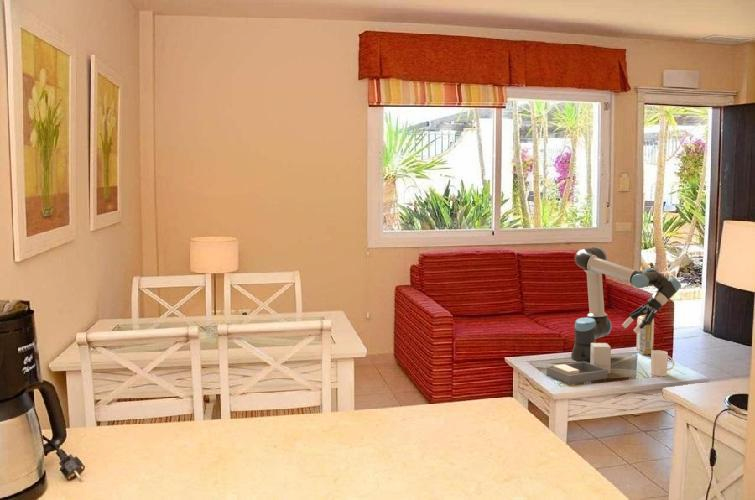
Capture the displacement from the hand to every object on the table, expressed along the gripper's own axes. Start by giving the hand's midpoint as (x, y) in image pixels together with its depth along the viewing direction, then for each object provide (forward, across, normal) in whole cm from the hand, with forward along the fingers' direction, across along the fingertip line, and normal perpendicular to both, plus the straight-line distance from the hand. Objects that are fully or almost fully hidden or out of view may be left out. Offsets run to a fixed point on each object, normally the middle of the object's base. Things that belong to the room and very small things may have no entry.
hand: (629, 329), depth 343 cm
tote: (+39, -10, +7) cm, 41 cm away
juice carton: (-2, +35, -35) cm, 49 cm away
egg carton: (+44, -12, +12) cm, 47 cm away
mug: (+6, -8, -27) cm, 29 cm away
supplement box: (+28, 0, -6) cm, 28 cm away
